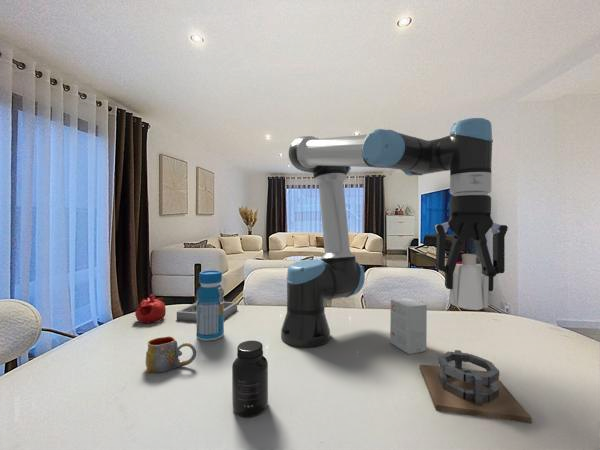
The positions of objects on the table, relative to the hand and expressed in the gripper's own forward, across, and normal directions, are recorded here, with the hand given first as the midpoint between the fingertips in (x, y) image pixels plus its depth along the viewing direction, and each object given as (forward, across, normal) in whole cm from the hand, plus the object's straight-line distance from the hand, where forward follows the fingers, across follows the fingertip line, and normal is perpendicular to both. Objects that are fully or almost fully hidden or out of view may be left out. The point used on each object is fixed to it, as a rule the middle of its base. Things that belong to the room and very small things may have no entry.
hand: (468, 304), depth 61 cm
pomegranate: (+19, -96, +22) cm, 100 cm away
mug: (+19, -67, -5) cm, 70 cm away
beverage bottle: (+19, -68, +14) cm, 72 cm away
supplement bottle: (+19, -43, -15) cm, 49 cm away
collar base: (+18, 0, 0) cm, 18 cm away
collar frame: (+18, 0, 0) cm, 18 cm away
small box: (+19, -9, +20) cm, 29 cm away
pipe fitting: (+18, -81, +33) cm, 89 cm away
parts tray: (+18, -79, +32) cm, 87 cm away
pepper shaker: (0, 0, 0) cm, 0 cm away
